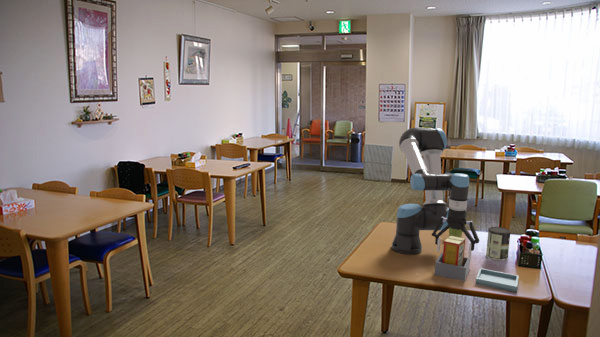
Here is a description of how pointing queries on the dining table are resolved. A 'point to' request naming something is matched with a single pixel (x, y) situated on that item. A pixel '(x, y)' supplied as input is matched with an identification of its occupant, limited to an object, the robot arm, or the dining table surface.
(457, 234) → the plant pot
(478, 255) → the dining table surface
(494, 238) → the coffee can
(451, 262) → the baking soda box
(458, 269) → the box
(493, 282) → the tray
